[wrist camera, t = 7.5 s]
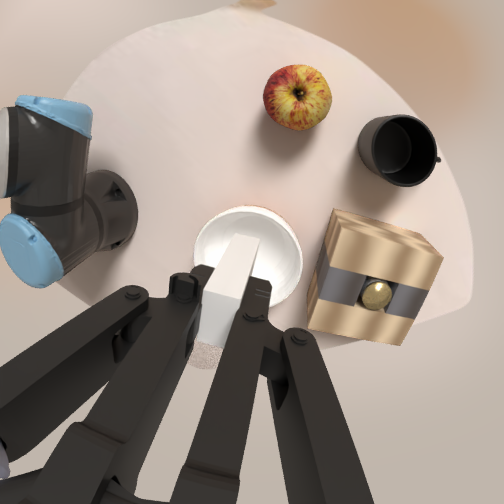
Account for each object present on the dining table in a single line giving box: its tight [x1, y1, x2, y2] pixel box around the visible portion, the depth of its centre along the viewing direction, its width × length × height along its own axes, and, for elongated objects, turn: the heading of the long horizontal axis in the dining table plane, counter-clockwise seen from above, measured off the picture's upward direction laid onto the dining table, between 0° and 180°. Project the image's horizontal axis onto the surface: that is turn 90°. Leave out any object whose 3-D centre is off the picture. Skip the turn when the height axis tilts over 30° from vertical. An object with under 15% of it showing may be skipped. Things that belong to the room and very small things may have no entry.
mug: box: [358, 115, 441, 187], centre depth 36 cm, size 9×12×9 cm
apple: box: [263, 65, 332, 130], centre depth 35 cm, size 9×9×10 cm
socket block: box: [307, 208, 444, 346], centre depth 44 cm, size 16×16×10 cm
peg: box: [360, 275, 392, 310], centre depth 43 cm, size 4×4×9 cm
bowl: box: [193, 205, 303, 307], centre depth 46 cm, size 16×16×8 cm
